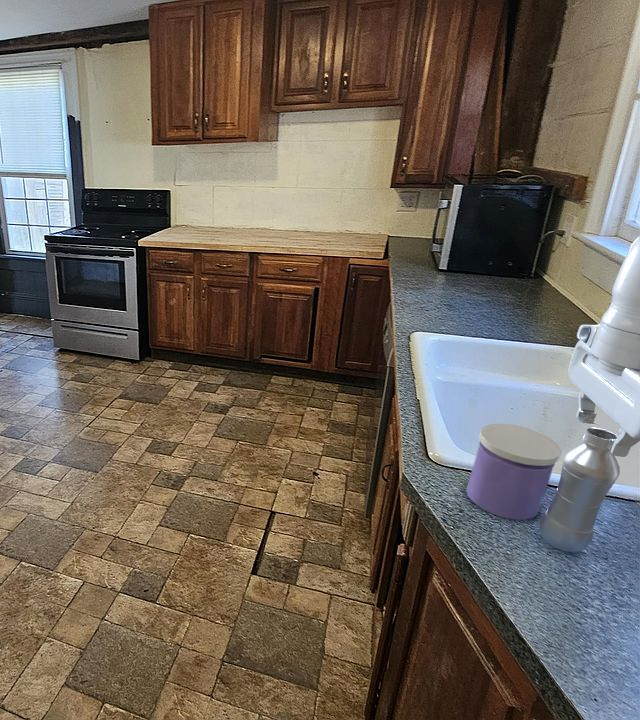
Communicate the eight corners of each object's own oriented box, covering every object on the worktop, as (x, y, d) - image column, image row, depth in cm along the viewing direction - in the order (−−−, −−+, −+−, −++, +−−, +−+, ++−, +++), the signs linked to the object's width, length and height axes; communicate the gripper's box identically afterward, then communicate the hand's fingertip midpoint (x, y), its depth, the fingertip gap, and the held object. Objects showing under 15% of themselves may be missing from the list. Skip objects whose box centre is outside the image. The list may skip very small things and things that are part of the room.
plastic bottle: (535, 523, 88) (573, 418, 80) (586, 540, 84) (630, 432, 77) (534, 546, 83) (573, 435, 75) (587, 564, 79) (634, 451, 72)
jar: (525, 485, 98) (544, 428, 93) (551, 526, 87) (574, 464, 83) (457, 476, 100) (472, 419, 96) (474, 514, 90) (492, 453, 85)
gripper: (716, 381, 61) (668, 481, 66) (622, 326, 79) (591, 408, 85) (651, 375, 62) (610, 473, 68) (574, 322, 81) (546, 402, 86)
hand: (599, 436), depth 76 cm, fingers open, 8 cm apart
